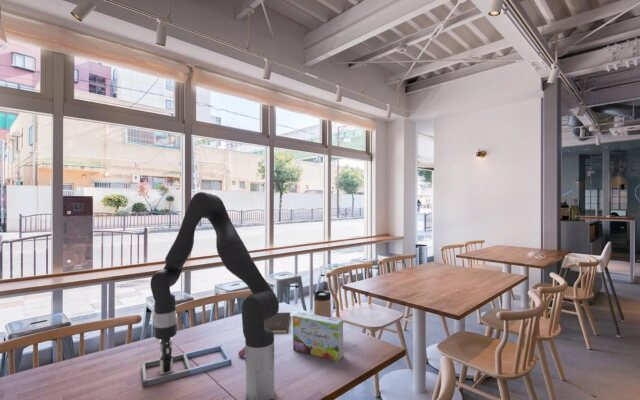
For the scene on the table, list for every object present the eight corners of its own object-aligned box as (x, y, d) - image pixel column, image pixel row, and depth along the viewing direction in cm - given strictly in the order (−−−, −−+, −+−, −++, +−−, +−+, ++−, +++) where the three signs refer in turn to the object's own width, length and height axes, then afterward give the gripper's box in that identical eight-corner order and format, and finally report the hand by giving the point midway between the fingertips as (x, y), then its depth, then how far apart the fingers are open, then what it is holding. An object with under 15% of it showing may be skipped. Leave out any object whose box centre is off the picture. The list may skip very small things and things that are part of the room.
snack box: (292, 351, 140) (291, 315, 139) (299, 345, 144) (298, 310, 144) (338, 362, 130) (338, 323, 129) (344, 356, 135) (343, 318, 134)
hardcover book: (290, 316, 181) (290, 312, 181) (287, 334, 158) (287, 329, 158) (260, 317, 180) (260, 312, 180) (253, 334, 157) (253, 330, 157)
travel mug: (316, 341, 149) (316, 296, 148) (312, 334, 156) (312, 291, 156) (333, 338, 151) (332, 294, 150) (328, 332, 158) (327, 290, 158)
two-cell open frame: (231, 364, 129) (231, 359, 129) (143, 386, 114) (143, 381, 114) (221, 348, 142) (221, 344, 142) (142, 367, 127) (141, 362, 127)
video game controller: (246, 361, 134) (253, 347, 133) (236, 356, 134) (243, 341, 134) (255, 350, 143) (262, 336, 143) (246, 345, 144) (253, 331, 144)
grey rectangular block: (172, 371, 124) (172, 355, 123) (160, 374, 122) (160, 358, 121) (171, 367, 127) (171, 351, 127) (159, 369, 125) (159, 353, 125)
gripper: (178, 327, 120) (179, 374, 120) (174, 315, 132) (174, 358, 132) (155, 331, 116) (156, 380, 116) (153, 319, 128) (153, 363, 129)
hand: (166, 368), depth 124 cm, fingers closed on grey rectangular block, 4 cm apart
